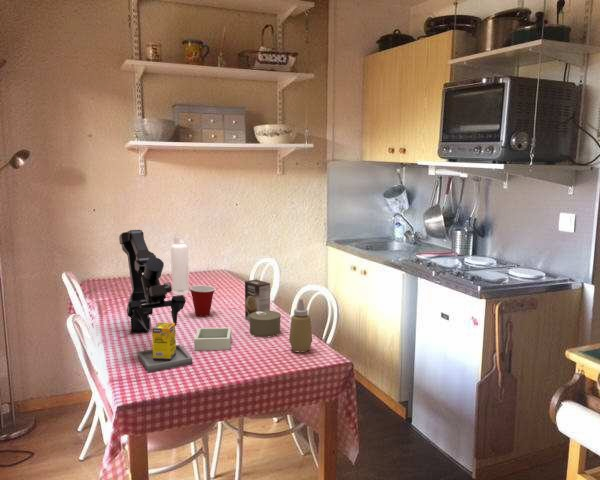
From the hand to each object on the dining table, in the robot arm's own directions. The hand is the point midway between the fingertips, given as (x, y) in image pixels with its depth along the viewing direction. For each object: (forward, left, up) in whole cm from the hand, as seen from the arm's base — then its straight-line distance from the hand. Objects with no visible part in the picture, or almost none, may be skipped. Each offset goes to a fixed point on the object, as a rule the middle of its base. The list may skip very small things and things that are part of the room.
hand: (161, 327), depth 170 cm
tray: (+1, -2, -10) cm, 11 cm away
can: (+34, +24, -11) cm, 43 cm away
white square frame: (+16, +13, -10) cm, 23 cm away
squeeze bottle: (+46, +5, -11) cm, 48 cm away
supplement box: (+1, -2, -10) cm, 10 cm away
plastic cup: (+8, +49, -11) cm, 50 cm away
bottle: (-7, +87, -11) cm, 87 cm away
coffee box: (+31, +40, -11) cm, 52 cm away
